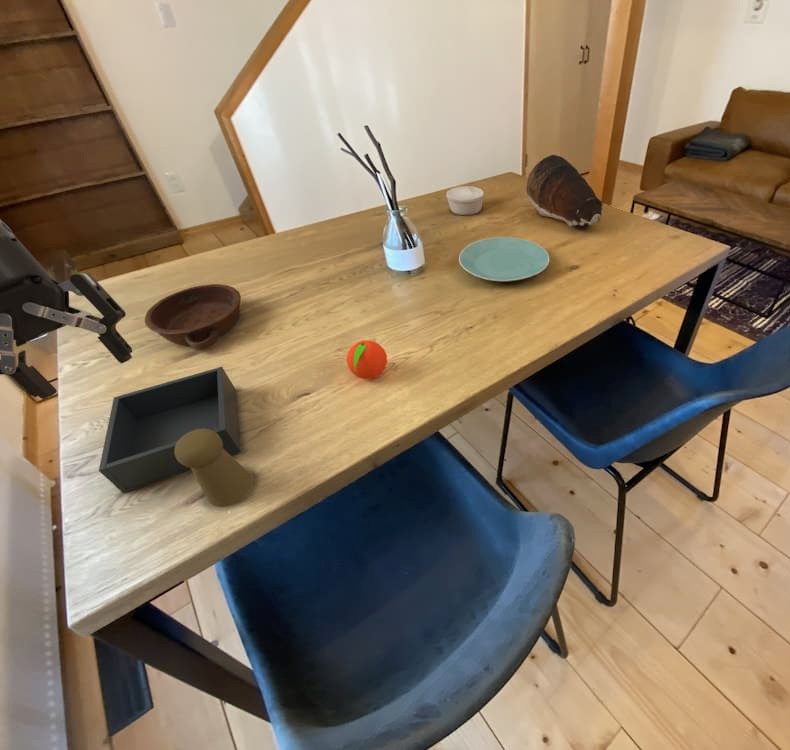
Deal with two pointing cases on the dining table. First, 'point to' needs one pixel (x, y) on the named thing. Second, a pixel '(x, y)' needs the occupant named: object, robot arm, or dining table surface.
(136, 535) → the dining table surface
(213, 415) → the bin
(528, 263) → the plate
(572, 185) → the taro root
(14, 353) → the robot arm
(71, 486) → the dining table surface
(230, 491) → the cork
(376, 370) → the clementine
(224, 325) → the dish
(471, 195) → the ramekin
